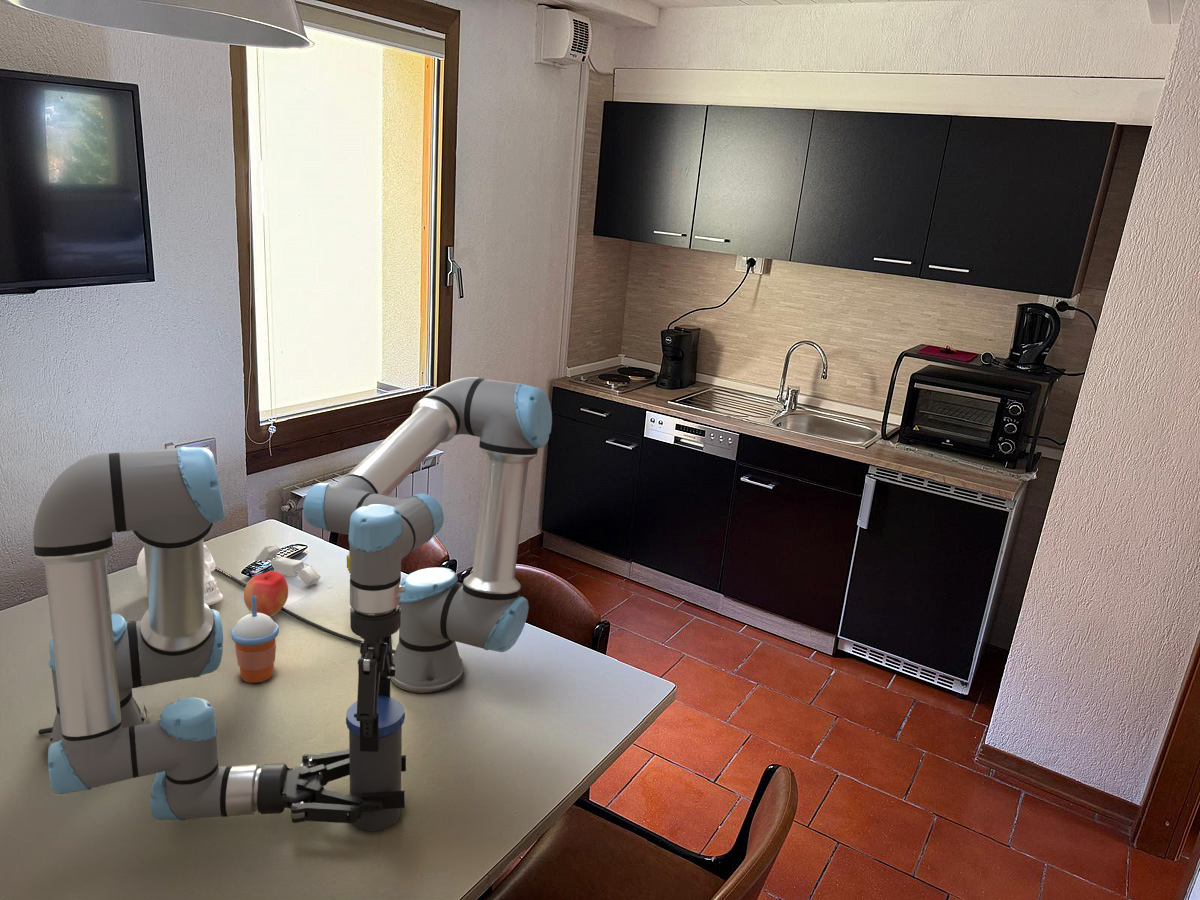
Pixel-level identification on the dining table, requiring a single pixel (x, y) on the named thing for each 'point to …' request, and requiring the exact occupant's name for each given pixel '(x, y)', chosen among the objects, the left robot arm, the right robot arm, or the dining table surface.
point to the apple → (267, 592)
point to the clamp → (288, 565)
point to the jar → (376, 776)
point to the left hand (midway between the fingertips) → (405, 780)
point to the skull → (209, 581)
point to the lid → (380, 716)
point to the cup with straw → (255, 645)
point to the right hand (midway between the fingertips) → (375, 731)
